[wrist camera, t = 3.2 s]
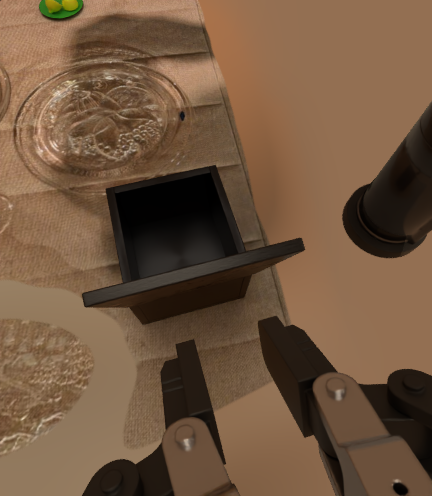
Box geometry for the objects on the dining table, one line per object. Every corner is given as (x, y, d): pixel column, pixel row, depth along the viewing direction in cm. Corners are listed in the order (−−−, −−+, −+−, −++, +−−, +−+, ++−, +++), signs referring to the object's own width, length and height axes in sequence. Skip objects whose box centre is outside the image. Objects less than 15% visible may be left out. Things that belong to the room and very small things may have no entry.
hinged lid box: (122, 226, 47) (105, 188, 39) (214, 205, 49) (215, 164, 41) (142, 325, 42) (126, 305, 33) (244, 297, 43) (253, 271, 35)
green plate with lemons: (58, 27, 64) (52, 11, 61) (31, 8, 66) (24, -8, 63) (92, 7, 66) (88, -9, 64) (65, -10, 68) (60, -27, 66)
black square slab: (81, 293, 19) (84, 307, 19) (302, 236, 20) (306, 250, 20) (125, 299, 33) (126, 307, 33) (252, 266, 35) (255, 273, 35)
